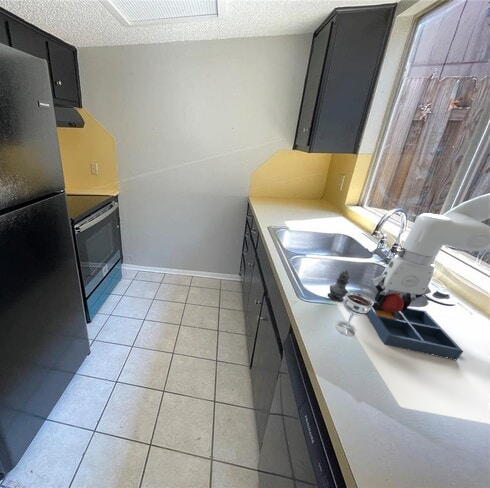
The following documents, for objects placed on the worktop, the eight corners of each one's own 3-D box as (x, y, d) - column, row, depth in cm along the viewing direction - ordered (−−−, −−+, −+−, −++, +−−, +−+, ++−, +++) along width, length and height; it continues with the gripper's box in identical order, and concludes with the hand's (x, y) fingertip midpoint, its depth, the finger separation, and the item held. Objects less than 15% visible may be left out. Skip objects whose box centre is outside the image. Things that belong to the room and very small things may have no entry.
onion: (374, 311, 84) (385, 291, 80) (376, 303, 87) (386, 284, 84) (396, 320, 80) (409, 300, 77) (398, 312, 84) (410, 292, 80)
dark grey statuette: (323, 292, 98) (333, 265, 92) (338, 293, 98) (350, 265, 92) (332, 302, 92) (343, 273, 87) (348, 302, 92) (361, 274, 87)
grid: (420, 318, 86) (425, 310, 85) (456, 360, 71) (463, 351, 70) (361, 307, 90) (365, 299, 89) (383, 344, 75) (388, 335, 74)
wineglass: (343, 320, 84) (357, 290, 78) (363, 335, 78) (379, 304, 73) (327, 324, 82) (340, 293, 76) (347, 340, 76) (362, 308, 71)
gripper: (387, 256, 74) (363, 306, 82) (461, 268, 70) (428, 319, 78) (376, 246, 80) (355, 292, 88) (443, 255, 76) (414, 304, 84)
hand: (389, 304), depth 83 cm, fingers closed on onion, 5 cm apart
